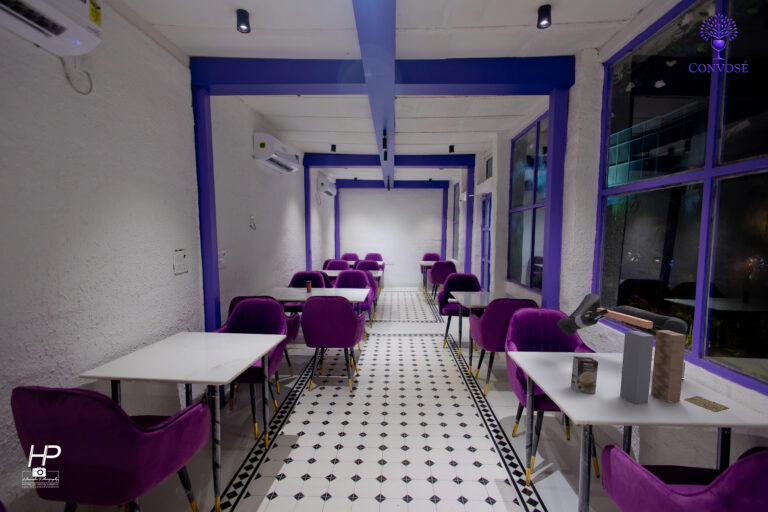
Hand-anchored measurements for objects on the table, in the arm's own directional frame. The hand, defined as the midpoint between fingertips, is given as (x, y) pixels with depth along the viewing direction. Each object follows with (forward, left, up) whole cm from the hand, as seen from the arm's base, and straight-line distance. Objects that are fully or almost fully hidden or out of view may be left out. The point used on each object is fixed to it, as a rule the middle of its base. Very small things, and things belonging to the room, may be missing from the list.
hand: (609, 310), depth 169 cm
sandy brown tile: (-36, +18, -40) cm, 56 cm away
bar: (-1, +7, -3) cm, 8 cm away
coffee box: (+16, +8, -39) cm, 43 cm away
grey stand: (-3, +16, -39) cm, 42 cm away
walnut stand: (-21, +13, -39) cm, 46 cm away
